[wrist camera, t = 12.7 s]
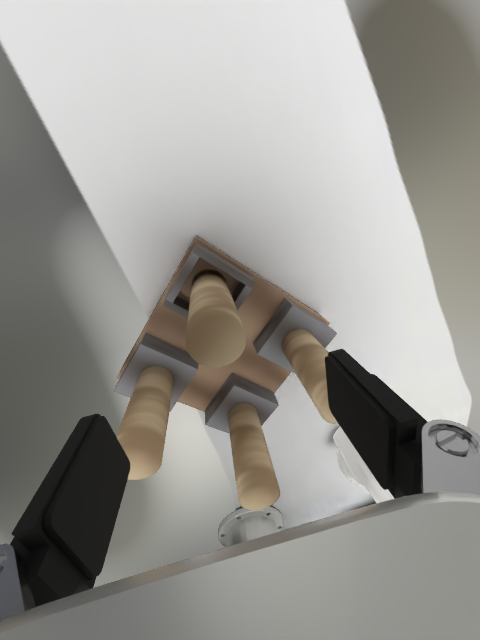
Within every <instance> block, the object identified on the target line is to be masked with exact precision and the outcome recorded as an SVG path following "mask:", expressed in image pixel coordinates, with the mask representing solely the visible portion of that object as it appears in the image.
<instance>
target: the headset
mask: <svg viewBox="0 0 480 640" xmlns="http://www.w3.org/2000/svg"><path fill="white" fill-rule="evenodd" d="M333 440H334V442H335V444H336V446H337V448H338V451H337V460H338V464H339V467H340V469H341V471H342V473H343V474H344V475H345V476H346V478H347V479H349V480H350V481H351V482H353V483H355V484H357V485H361V486H364V487H366V489H367V490H368V491H369V493H370V494H371V496H372V497H373V499H374V500H375V501H376V503H380V502H384V501H387V500H391V499H394V497H393V496H392V494H391V493H390V492H389V490H388V489H387V490H384V489H383V488H382V487H381V486H380V485H379V483H378V482H377V480H376V479H375V477H374V476H373V474H372V473H371V471H370V470H369V468H368V467H367V465H366V464H365V462H364V461H363V459H362V458H361V456H360V455H359V453H358V452H357V450H356V449H355V448H354V446H353V445H352V443H351V442H350V440H349V439H348V437H347V436H346V434H345V433H344V431H343V430H342V428H341V427H339V428H338V429H337V430H336V432H335V434H334V435H333ZM404 497H405V496H404Z"/></svg>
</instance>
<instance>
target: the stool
mask: <svg viewBox="0 0 480 640" xmlns="http://www.w3.org/2000/svg"><path fill="white" fill-rule="evenodd" d="M206 269H212V270H215V271H218V272H219V273H221V274H222V275H223V277H224V278H225V280H226V283H227V286H228V288H229V291H230V293H231V296H232V299H233V301H234V304H235V307H236V309H237V312H238V314H239V317H240V320H241V322H242V325H243V327H244V330H245V333H246V346H245V349H244V351H243V353H242V354H241V356H240V357H239V358H238V359H237V360H235V361H234V362H232V363H231V364H229V365H226V366H223V367H207V366H204V365H201V364H199V363H198V362H196V361H195V360H194V359H193V358H192V357H191V356H190V354H189V353H188V351H187V348H186V333H187V323H188V314H189V304H190V294H191V285H192V280H193V278H194V277H195V275H196V274H197V273H199V272H200V271H202V270H206ZM329 324H330V323H329V322H328V321H327V320H326V319H324V318H323V317H322V316H321V315H320V314H318V313H317V312H315V311H314V310H312V309H311V308H309V307H307V306H306V305H304V304H303V303H301V302H300V301H298V300H296V299H295V298H293V297H292V296H290V295H289V294H287V293H286V292H284V291H282V290H281V289H279V288H278V287H276V286H275V285H273V284H272V283H270V282H268V281H267V280H265V279H264V278H262V277H261V276H259V275H257V274H256V273H254V272H253V271H251V270H250V269H248V268H247V267H245V266H243V265H242V264H240V263H239V262H237V261H236V260H234V259H233V258H231V257H229V256H228V255H226V254H225V253H223V252H222V251H220V250H218V249H217V248H215V247H214V246H212V245H211V244H209V243H208V242H206V241H204V240H203V239H201V238H200V237H198V236H197V235H196V236H195V238H194V240H193V241H192V243H191V245H190V247H189V249H188V250H187V252H186V254H185V256H184V257H183V259H182V261H181V263H180V265H179V266H178V268H177V270H176V272H175V274H174V275H173V277H172V279H171V281H170V282H169V284H168V286H167V288H166V290H165V291H164V293H163V295H162V297H161V298H160V300H159V302H158V304H157V306H156V307H155V309H154V311H153V313H152V315H151V316H150V318H149V320H148V322H147V323H146V325H145V327H144V329H143V331H142V332H141V334H140V336H139V338H138V339H137V341H136V343H135V345H134V347H133V348H132V350H131V352H130V354H129V356H128V357H127V359H126V361H125V363H124V365H123V367H122V369H121V371H120V373H119V375H118V377H117V378H118V379H119V381H118V384H117V385H116V388H115V390H114V392H117V393H119V394H122V395H125V396H128V397H130V398H131V399H130V401H129V404H128V407H127V410H126V413H125V415H124V418H123V420H122V423H121V426H120V429H119V431H118V434H117V439H118V441H119V443H120V444H121V446H122V448H123V450H124V452H125V453H126V455H127V457H128V459H129V461H130V472H129V475H128V479H129V480H138V479H144V478H147V477H149V476H151V475H153V474H154V473H156V472H157V471H158V469H159V468H160V466H161V462H162V456H163V450H164V443H165V436H166V430H167V423H168V416H169V412H170V411H171V410H172V408H173V407H174V405H175V404H176V402H177V401H178V402H181V403H183V404H186V405H189V406H191V407H194V408H196V409H199V410H202V411H204V412H205V425H207V426H210V427H213V428H216V429H218V430H221V431H224V432H227V433H229V434H230V440H231V447H232V455H233V462H234V469H235V477H236V484H237V491H238V499H239V503H240V505H241V506H242V507H243V508H245V509H248V510H261V509H264V508H267V507H269V506H271V505H272V504H274V503H275V502H276V501H277V500H278V498H279V496H280V490H279V486H278V483H277V479H276V476H275V472H274V469H273V465H272V462H271V458H270V455H269V451H268V448H267V444H266V441H265V438H264V434H263V431H262V427H261V426H262V425H263V423H264V422H265V421H266V420H267V419H268V417H269V416H270V415H271V414H272V412H273V411H274V410H275V409H276V408H277V406H278V402H277V400H276V397H275V395H274V393H275V391H276V390H277V389H278V388H279V386H280V385H281V384H282V383H283V381H284V380H285V379H286V378H287V376H288V375H289V374H290V373H291V372H293V373H295V374H297V376H298V378H299V379H300V381H301V383H302V384H303V386H304V388H305V389H306V391H307V393H308V394H309V396H310V398H311V399H312V401H313V403H314V404H315V406H316V408H317V409H318V411H319V413H320V414H321V416H322V418H323V419H324V420H325V421H327V422H329V423H334V424H338V422H337V421H336V419H335V418H334V416H333V415H332V413H331V411H330V409H329V404H328V393H327V381H326V369H325V357H326V356H328V351H327V350H326V349H325V348H326V346H327V345H328V344H329V343H330V342H331V340H332V339H333V338H334V337H335V335H336V334H337V333H336V332H335V331H334V330H333V329H331V328H330V327H329V326H328V325H329Z"/></svg>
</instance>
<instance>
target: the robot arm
mask: <svg viewBox="0 0 480 640" xmlns="http://www.w3.org/2000/svg"><path fill="white" fill-rule="evenodd" d="M325 369H326V381H327V393H328V404H329V409H330V411H331V413H332V415H333V416H334V418H335V419H336V421H337V422H338V424H339V425H340V427H341V428H342V430H343V431H344V433H345V434H346V436H347V437H348V439H349V440H350V442H351V443H352V445H353V446H354V448H355V449H356V450H357V452H358V453H359V455H360V456H361V458H362V459H363V461H364V462H365V464H366V465H367V467H368V468H369V470H370V471H371V473H372V474H373V476H374V477H375V479H376V480H377V482H378V483H379V485H380V486H381V487H382V488H383V489H384V490H387V489H388V490H389V492H390V493H391V494H392V496H393V497H394V499H391V500H387V501H384V502H380V503H376V504H373V505H369V506H365V507H362V508H358V509H355V510H351V511H347V512H344V513H340V514H337V515H333V516H330V517H327V518H323V519H320V520H316V521H313V522H310V523H306V524H303V525H300V526H296V527H293V528H289V529H286V530H283V531H282V529H283V526H284V525H283V519H282V515H281V514H280V512H279V511H278V510H277V509H275V508H273V507H270V506H269V507H267V508H264V509H261V510H248V509H245V508H241V509H238V510H236V511H234V512H232V513H231V514H229V515H228V516H227V517H226V518H225V519H224V520H223V521H222V522H221V524H220V526H219V529H218V535H219V540H220V542H221V543H222V545H224V546H225V547H226V548H223V549H219V550H216V551H213V552H209V553H206V554H203V555H199V556H196V557H193V558H190V559H186V560H183V561H180V562H176V563H173V564H170V565H167V566H163V567H160V568H157V569H154V570H150V571H147V572H144V573H141V574H138V575H134V576H131V577H128V578H124V579H121V580H118V581H115V582H111V583H108V584H105V585H102V586H98V587H95V588H93V586H94V583H95V579H96V576H98V575H99V574H100V573H101V571H102V568H103V564H104V561H105V557H106V554H107V550H108V546H109V543H110V540H111V536H112V532H113V529H114V525H115V522H116V518H117V515H118V510H119V508H120V503H121V500H122V497H123V493H124V490H125V486H126V483H127V479H128V475H129V472H130V461H129V459H128V457H127V455H126V453H125V452H124V450H123V448H122V446H121V444H120V443H119V441H118V439H117V437H116V436H115V434H114V432H113V430H112V429H111V427H110V425H109V423H108V421H107V420H106V418H105V417H104V416H100V415H99V414H94V415H90V416H86V417H83V418H81V419H80V420H79V422H78V424H77V426H76V427H75V429H74V430H73V432H72V434H71V435H70V437H69V439H68V440H67V442H66V444H65V445H64V447H63V449H62V450H61V452H60V454H59V455H58V457H57V459H56V460H55V462H54V464H53V466H52V467H51V469H50V470H49V472H48V474H47V475H46V477H45V479H44V480H43V482H42V484H41V485H40V487H39V489H38V490H37V492H36V494H35V495H34V497H33V499H32V500H31V502H30V504H29V505H28V507H27V509H26V510H25V512H24V514H23V515H22V517H21V519H20V520H19V522H18V524H17V525H16V527H15V529H14V530H13V532H12V535H13V536H15V537H14V538H13V540H12V542H11V544H6V543H5V544H0V640H480V436H479V435H478V434H477V433H475V432H474V431H472V430H471V429H469V428H468V427H466V426H464V425H462V424H459V423H456V422H453V421H448V420H432V421H430V422H427V421H426V420H425V419H424V418H423V417H422V416H421V415H419V414H418V413H417V412H416V411H415V410H414V409H413V408H412V407H410V406H409V405H408V404H407V403H406V402H405V401H404V400H403V399H402V398H400V397H399V396H398V395H397V394H396V393H395V392H394V391H393V390H391V389H390V388H389V387H388V386H387V385H386V384H385V383H384V382H383V381H381V380H380V379H379V378H378V377H377V376H375V375H373V374H370V373H369V372H368V371H366V370H365V369H364V368H363V367H362V366H361V365H360V364H359V363H358V362H357V361H356V360H354V359H353V358H352V357H351V356H350V355H349V354H348V353H347V352H346V351H345V350H343V349H339V350H335V351H332V352H329V353H328V356H326V357H325ZM404 496H405V497H404Z"/></svg>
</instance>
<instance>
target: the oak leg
mask: <svg viewBox="0 0 480 640" xmlns="http://www.w3.org/2000/svg"><path fill="white" fill-rule="evenodd" d="M245 346H246V333H245V330H244V327H243V325H242V322H241V320H240V317H239V314H238V312H237V309H236V307H235V304H234V301H233V299H232V296H231V293H230V291H229V288H228V286H227V283H226V280H225V278H224V277H223V275H222V274H221V273H219V272H218V271H215V270H212V269H206V270H202V271H200V272H199V273H197V274H196V275H195V277H194V278H193V280H192V285H191V294H190V304H189V314H188V323H187V333H186V348H187V351H188V353H189V354H190V356H191V357H192V358H193V359H194V360H195V361H196V362H198V363H199V364H201V365H204V366H207V367H223V366H226V365H229V364H231V363H232V362H234V361H235V360H237V359H238V358H239V357H240V356H241V354H242V353H243V351H244V349H245Z"/></svg>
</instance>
